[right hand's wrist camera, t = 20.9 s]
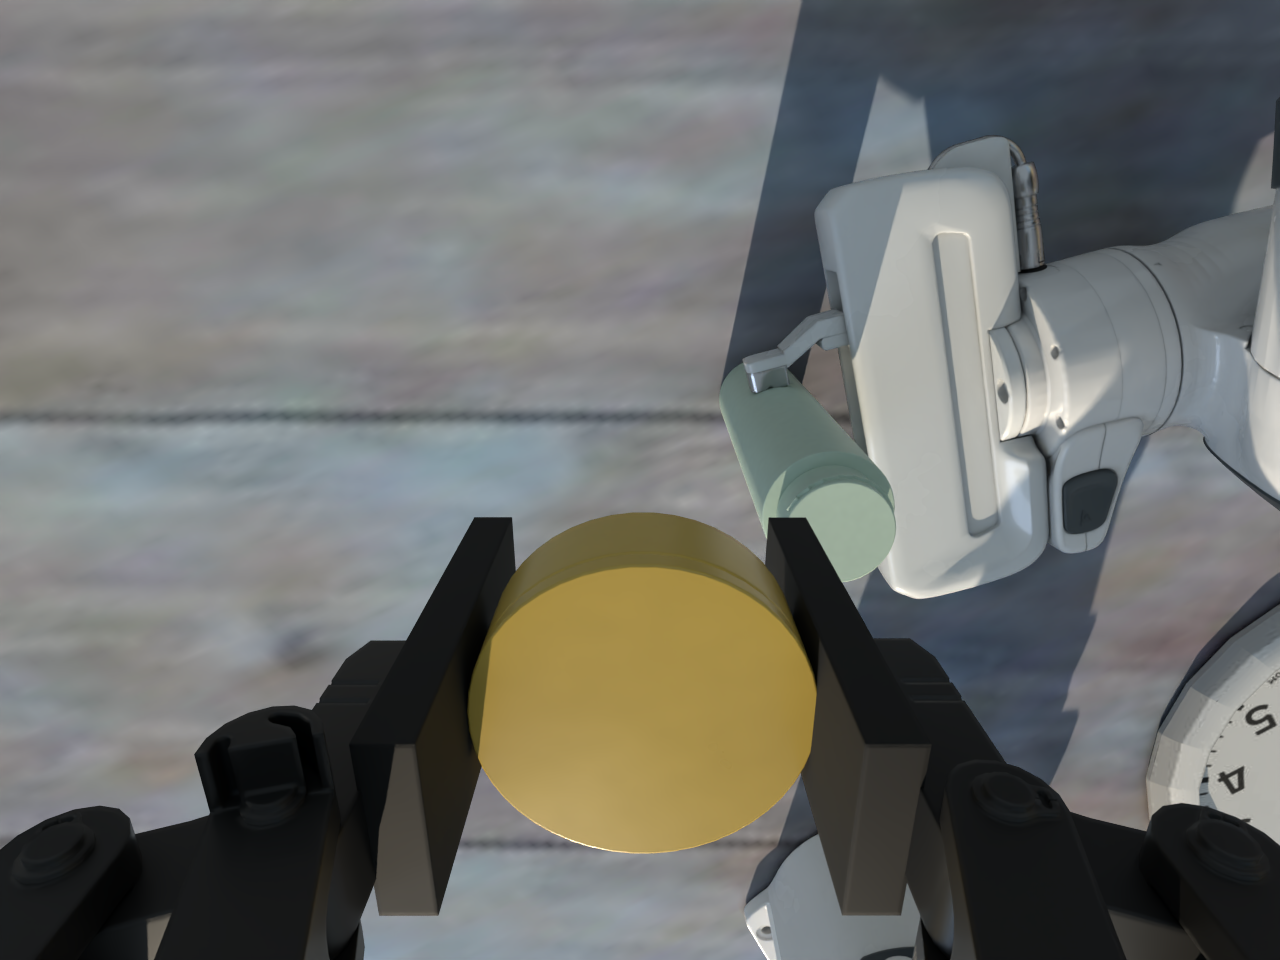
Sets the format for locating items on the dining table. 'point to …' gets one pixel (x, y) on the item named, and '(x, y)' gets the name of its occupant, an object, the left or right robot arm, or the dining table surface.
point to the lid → (642, 686)
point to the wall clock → (1226, 733)
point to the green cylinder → (810, 472)
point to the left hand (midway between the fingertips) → (759, 434)
